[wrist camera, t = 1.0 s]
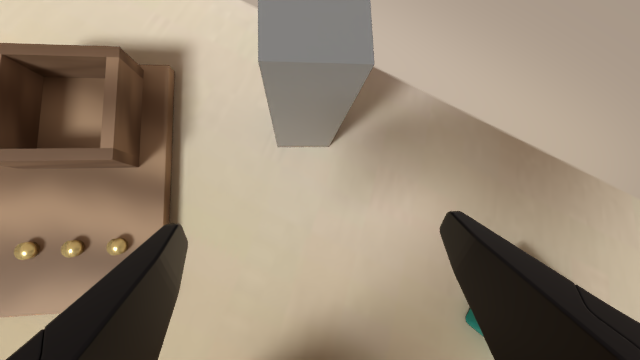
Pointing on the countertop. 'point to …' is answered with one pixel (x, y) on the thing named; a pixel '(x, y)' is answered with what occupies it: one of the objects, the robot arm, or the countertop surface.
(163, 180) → the walnut holder
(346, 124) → the countertop surface
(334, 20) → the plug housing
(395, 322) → the countertop surface
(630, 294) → the countertop surface
